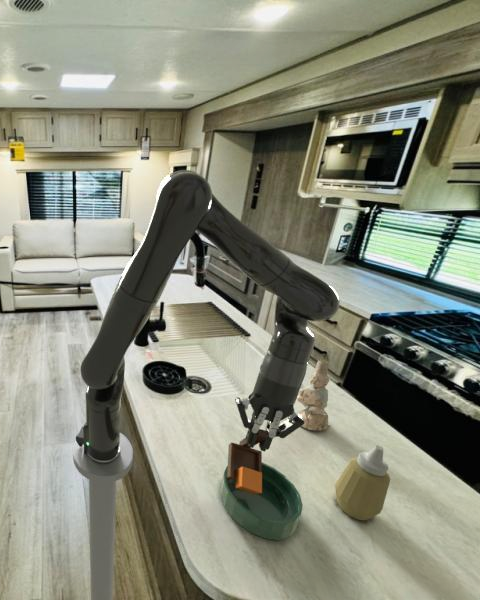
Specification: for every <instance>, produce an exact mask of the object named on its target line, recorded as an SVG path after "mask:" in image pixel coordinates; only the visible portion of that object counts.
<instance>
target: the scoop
mask: <svg viewBox="0 0 480 600" xmlns="http://www.w3.org/2000/svg"><path fill="white" fill-rule="evenodd" d="M267 438H268V431H266V429H261V428H259V430H258V432H257V438H256V441H255V444H254V447H255V446H256V445H259V443H260V442H261V441H263V440H265V439H267ZM262 454H263V451H261V450H258V449H255V448H251V447H249V445H248V444H247V441H246V437H244V438H243V439H241V440H240V441H239V442H238V443H236V442H230V443H229V444H228V453H227V466H228V472H227V478H228V479H231V480H234V481H236V469H238V468H240V467H246V468H249V469H252V470H255V471H258V472H261V473H262V463H263V457H262V456H263V455H262Z"/></svg>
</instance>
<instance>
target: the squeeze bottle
mask: <svg viewBox="0 0 480 600" xmlns="http://www.w3.org/2000/svg"><path fill="white" fill-rule="evenodd" d="M388 471H389V465H388V463H387V462H386V461H385V460H384V448H383V446H380V445H375V446H374V447H373V448H372V449H371V450H370V451H369V452H366V451H362V452H360V453H359V454H358V456H356V457H352V458H351V459H350V460H349V462H348V463H347V465H346V466H345V468H344V470H343V471H342V473H341V474H340V476H339V478H338V479H337V480H336V482H335V484H334V489H335V497H336V503H337V505H338V506H339V508H340V509H341V510H342V511H343V512H344V513H345V514H347V515H348V516H350V517H351V518H354V519H356V520H358V521H367V520H370V519H372V518H374V517H375V516H377V515H379V514H381V512H382V510H383V508H384V504H385V501H386V498H387V494H388V490H389V486H390V483H391V477H390V474H389V473H388Z"/></svg>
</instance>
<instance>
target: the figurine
mask: <svg viewBox="0 0 480 600" xmlns="http://www.w3.org/2000/svg"><path fill="white" fill-rule="evenodd" d="M329 367H330V363H329V362H328V361H327V362H326V361H323V360H317V363H316V365H315V368H314V371H313V372H312V373H311V379H310V380H309V384H308V385H307V386H305V387H304V388H303V389H300V390H299V393H298V396H297V399H296V401H297V402H298V403H300V404H301V405H302V406H303V407H304V408H302V409H301V411H299V415H300V416H301V417H302V419H303V420H304V422H305V423H304V424H303V425H302V426H301V427H302V428H304V429H307V430H309V431H325V430H329V429H330V428H331V425H330V423H329V415H328V413H327V412H326V410H325V409H326V408H327V407H328V401H329V390H328V388H326V387H327V386H328V384H329V382H330V378H329V377H328V373H329Z"/></svg>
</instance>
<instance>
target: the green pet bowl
mask: <svg viewBox="0 0 480 600" xmlns="http://www.w3.org/2000/svg"><path fill="white" fill-rule="evenodd" d="M227 472H228V465H226V467H225V469H224V471H223V474H222V479H221V485H220V498H221V501H222V504H223V506H224V508H225V510H226V511H227V512H228V514H229V515H230V516H231V518H232V519H233V520H234V522H237V524H239V526H240V527H241V528H243V529H245V530H246V531H248V532H250V533H251V534H253V535H254V536H258V537H261V538H264V539H267V540H278V541H280V540H284V539H287V538H289V537H291V536H292V535H293V533H294V532H295V531H296V530H297V527H298V524H299V521H300V518H301V516H302V512H303V501H302V498H301V494H300V493H299V490H297V488H296V485H294V483H293V482H292V481H291V480H290V479H289V478H288V477H287V476H286V475H284V474H283V473H282V472H280V471H279V470H278V469H276V468H275V467H272V466H270V465H269V464H267V463H264V462H262V493H260V494H256V495H254V494H251V493H248V492H245V491H242V490H239V489H236V481H234V480H231V479H228V478H227Z"/></svg>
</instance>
